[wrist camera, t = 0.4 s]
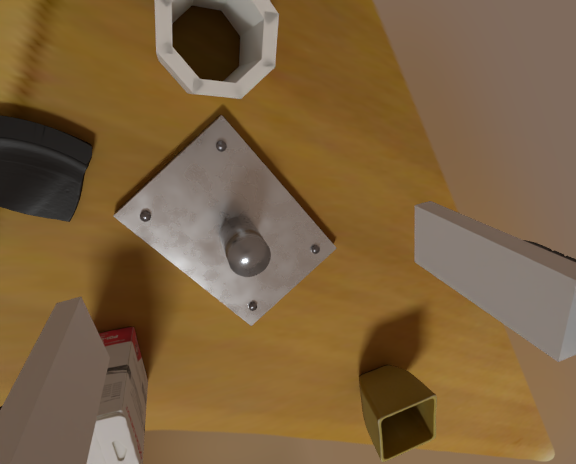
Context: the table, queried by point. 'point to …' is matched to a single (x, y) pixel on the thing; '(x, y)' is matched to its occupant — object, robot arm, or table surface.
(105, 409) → the ink box
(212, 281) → the duct plate
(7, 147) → the curved wedge
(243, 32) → the octagonal hollow tube
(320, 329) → the table surface
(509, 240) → the robot arm
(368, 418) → the flower pot
